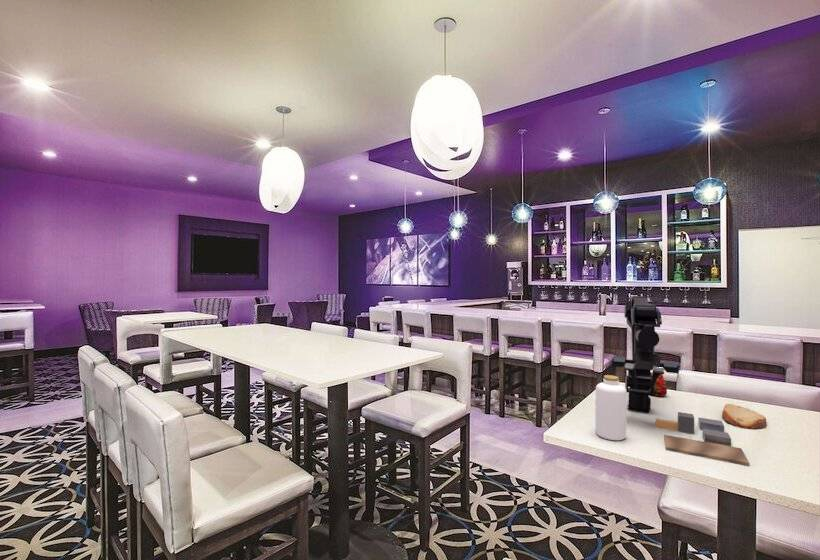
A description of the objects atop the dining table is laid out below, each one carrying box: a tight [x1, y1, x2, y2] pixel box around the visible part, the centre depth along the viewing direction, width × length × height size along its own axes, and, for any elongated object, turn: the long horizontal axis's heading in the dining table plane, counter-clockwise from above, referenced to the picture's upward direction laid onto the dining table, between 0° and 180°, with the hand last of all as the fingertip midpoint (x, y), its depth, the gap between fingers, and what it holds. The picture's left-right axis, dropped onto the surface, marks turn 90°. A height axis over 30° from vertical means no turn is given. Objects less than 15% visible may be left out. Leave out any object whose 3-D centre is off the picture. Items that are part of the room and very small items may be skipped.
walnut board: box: [663, 434, 750, 467], centre depth 110 cm, size 18×10×1 cm, turn 59°
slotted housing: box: [697, 417, 732, 447], centre depth 120 cm, size 6×16×2 cm, turn 149°
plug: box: [655, 411, 695, 435], centre depth 125 cm, size 10×4×5 cm, turn 59°
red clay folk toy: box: [651, 372, 668, 398], centre depth 161 cm, size 8×7×15 cm
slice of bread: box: [721, 403, 768, 430], centre depth 135 cm, size 18×18×4 cm
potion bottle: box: [594, 374, 628, 441], centre depth 119 cm, size 8×8×18 cm
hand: (643, 390), depth 130 cm, fingers open, 4 cm apart
